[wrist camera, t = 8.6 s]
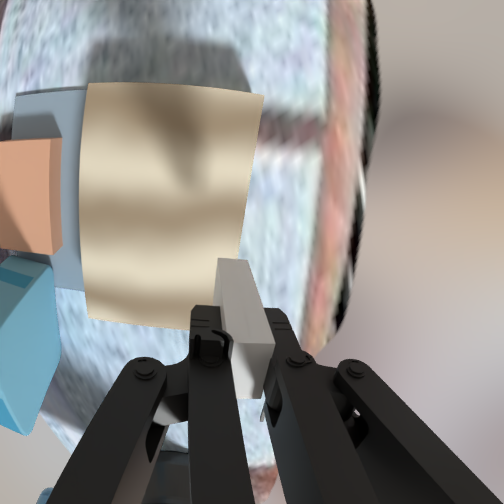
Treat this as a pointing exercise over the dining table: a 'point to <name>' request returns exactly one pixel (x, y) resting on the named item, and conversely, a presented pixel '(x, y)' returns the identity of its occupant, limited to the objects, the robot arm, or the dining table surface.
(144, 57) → the dining table surface
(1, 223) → the salmon orange flat block
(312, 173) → the dining table surface
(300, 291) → the dining table surface
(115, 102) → the plate
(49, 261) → the mat
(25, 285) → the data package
